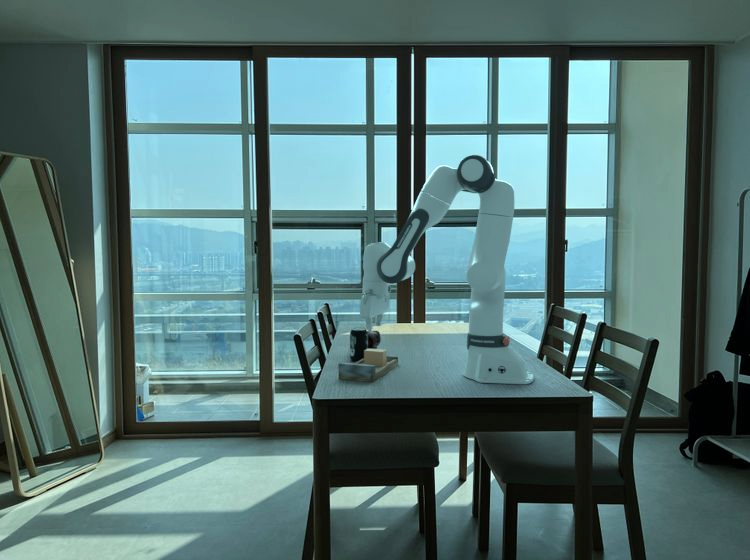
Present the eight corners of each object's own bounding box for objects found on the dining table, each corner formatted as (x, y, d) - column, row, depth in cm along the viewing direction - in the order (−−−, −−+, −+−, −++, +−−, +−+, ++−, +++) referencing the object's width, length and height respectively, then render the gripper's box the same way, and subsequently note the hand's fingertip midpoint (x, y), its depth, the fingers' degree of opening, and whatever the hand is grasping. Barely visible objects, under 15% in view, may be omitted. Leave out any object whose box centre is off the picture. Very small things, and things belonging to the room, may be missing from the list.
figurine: (373, 357, 216) (359, 367, 199) (356, 339, 218) (341, 348, 201) (388, 341, 214) (376, 350, 197) (371, 323, 215) (357, 331, 198)
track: (398, 364, 188) (398, 350, 188) (373, 382, 164) (373, 366, 163) (367, 361, 192) (367, 348, 192) (338, 378, 168) (338, 363, 167)
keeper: (386, 363, 184) (386, 349, 183) (382, 366, 180) (382, 352, 180) (368, 362, 186) (368, 348, 186) (364, 364, 182) (364, 350, 182)
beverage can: (365, 362, 191) (365, 330, 190) (348, 361, 193) (348, 329, 192) (369, 358, 198) (369, 327, 197) (352, 358, 199) (352, 327, 198)
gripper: (373, 291, 170) (372, 333, 171) (392, 287, 190) (391, 324, 191) (355, 290, 173) (354, 331, 174) (376, 286, 192) (375, 323, 193)
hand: (374, 327), depth 182 cm, fingers open, 8 cm apart
